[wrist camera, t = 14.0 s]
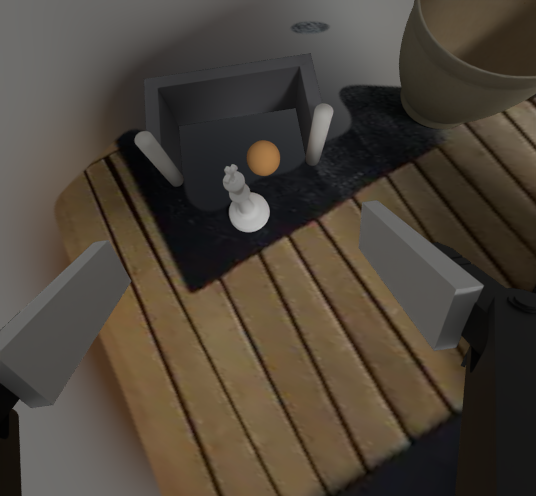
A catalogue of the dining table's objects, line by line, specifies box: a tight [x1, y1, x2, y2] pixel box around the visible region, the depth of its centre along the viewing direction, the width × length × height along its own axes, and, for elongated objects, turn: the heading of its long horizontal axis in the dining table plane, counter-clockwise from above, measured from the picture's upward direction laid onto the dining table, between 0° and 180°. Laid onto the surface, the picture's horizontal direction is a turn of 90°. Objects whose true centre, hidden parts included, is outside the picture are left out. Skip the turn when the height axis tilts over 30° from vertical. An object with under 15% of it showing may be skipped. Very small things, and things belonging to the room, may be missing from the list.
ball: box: [247, 140, 280, 176], centre depth 29 cm, size 4×4×4 cm
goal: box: [135, 53, 333, 187], centre depth 28 cm, size 10×19×8 cm, turn 98°
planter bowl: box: [399, 0, 536, 129], centre depth 27 cm, size 16×16×11 cm
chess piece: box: [223, 164, 270, 232], centre depth 25 cm, size 5×5×10 cm
